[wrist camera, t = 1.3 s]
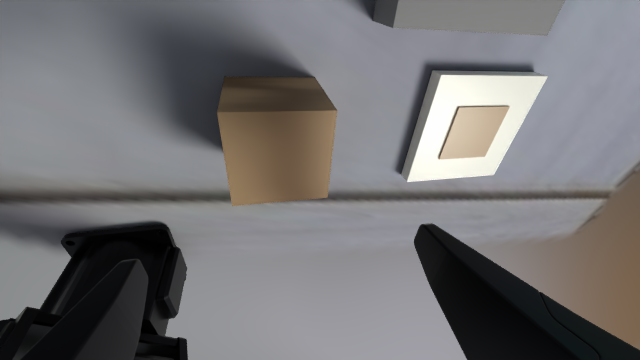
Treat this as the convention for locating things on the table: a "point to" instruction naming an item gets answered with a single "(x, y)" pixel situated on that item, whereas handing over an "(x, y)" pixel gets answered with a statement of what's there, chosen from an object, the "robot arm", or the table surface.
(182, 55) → the table surface
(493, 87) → the tile
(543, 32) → the charcoal base block
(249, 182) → the walnut cube
